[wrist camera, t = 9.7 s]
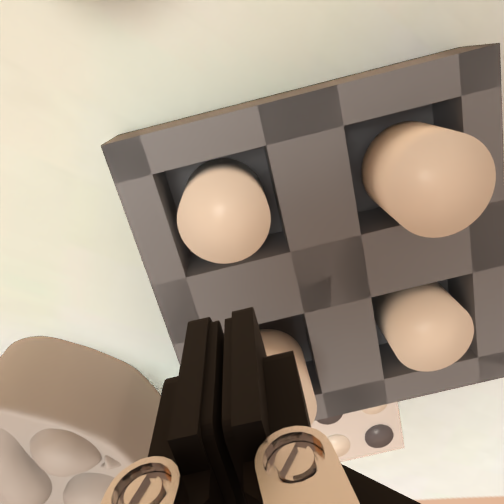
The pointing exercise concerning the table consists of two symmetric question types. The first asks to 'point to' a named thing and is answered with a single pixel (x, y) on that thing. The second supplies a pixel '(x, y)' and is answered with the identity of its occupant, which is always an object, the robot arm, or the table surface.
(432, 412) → the table surface
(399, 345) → the button
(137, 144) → the button board
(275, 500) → the robot arm
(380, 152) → the button
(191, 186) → the button
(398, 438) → the card
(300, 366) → the button
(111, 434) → the lumpy-topped squat cylinder
